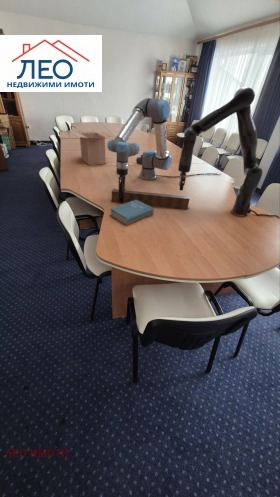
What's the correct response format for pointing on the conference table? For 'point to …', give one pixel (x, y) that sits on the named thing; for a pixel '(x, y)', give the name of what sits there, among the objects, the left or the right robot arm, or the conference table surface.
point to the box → (92, 146)
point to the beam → (152, 199)
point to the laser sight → (139, 159)
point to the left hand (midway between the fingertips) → (121, 200)
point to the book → (131, 211)
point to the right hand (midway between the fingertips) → (180, 187)
